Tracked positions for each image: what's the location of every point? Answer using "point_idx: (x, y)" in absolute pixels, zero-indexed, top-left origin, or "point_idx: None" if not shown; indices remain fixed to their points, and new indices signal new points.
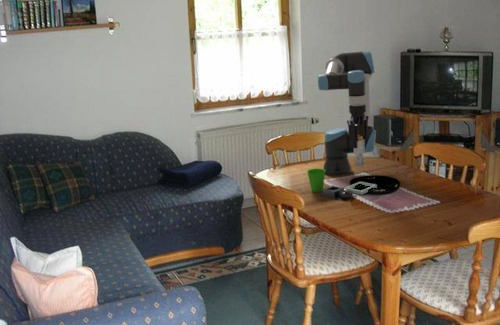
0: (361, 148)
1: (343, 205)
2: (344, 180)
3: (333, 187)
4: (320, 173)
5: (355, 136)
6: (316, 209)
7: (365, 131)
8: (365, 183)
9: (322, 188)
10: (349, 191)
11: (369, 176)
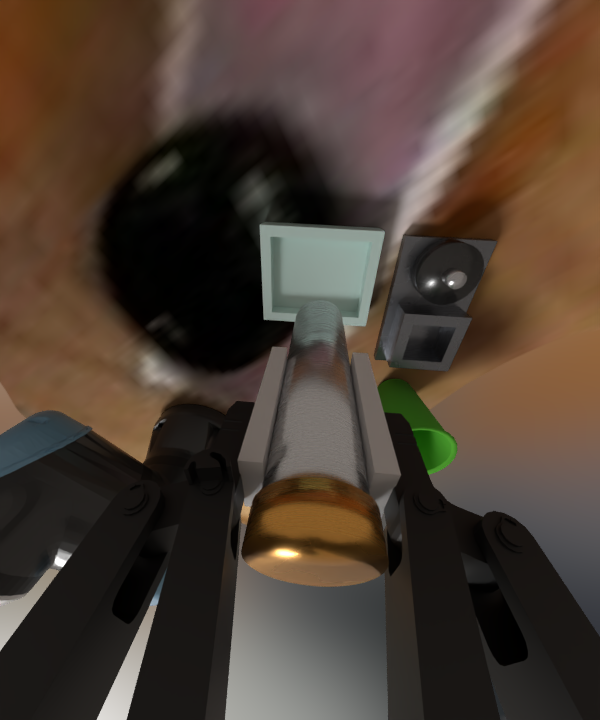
0: (330, 378)
1: (521, 230)
2: (246, 385)
3: (401, 354)
4: (441, 430)
5: (462, 601)
6: (587, 301)
7: (103, 614)
8: (271, 285)
9: (397, 386)
10: (431, 270)
11: (158, 343)
